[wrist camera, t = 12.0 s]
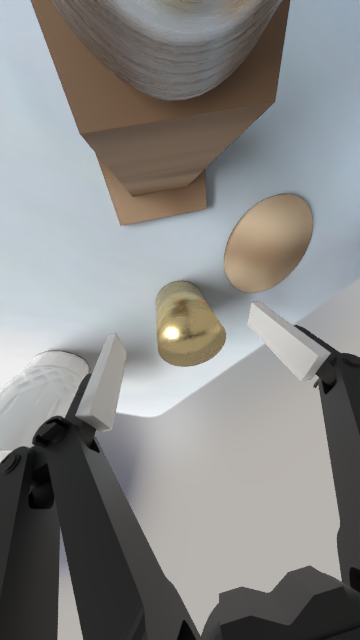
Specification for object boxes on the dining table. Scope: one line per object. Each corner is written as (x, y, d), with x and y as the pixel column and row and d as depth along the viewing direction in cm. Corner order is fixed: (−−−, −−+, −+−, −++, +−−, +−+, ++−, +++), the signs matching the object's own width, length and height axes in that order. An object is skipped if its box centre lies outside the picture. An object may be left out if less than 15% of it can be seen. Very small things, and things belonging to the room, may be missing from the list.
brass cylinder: (149, 286, 15) (148, 326, 9) (199, 276, 15) (227, 308, 10) (161, 325, 18) (166, 372, 13) (202, 316, 19) (224, 358, 13)
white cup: (87, 346, 18) (38, 444, 10) (98, 380, 23) (68, 467, 15) (13, 347, 17) (-115, 466, 9) (40, 383, 21) (-28, 484, 13)
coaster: (225, 205, 12) (229, 204, 11) (323, 186, 12) (330, 184, 12) (222, 297, 17) (224, 299, 17) (290, 282, 18) (294, 284, 17)
